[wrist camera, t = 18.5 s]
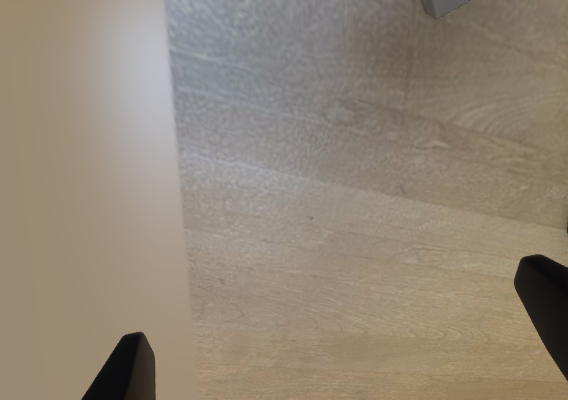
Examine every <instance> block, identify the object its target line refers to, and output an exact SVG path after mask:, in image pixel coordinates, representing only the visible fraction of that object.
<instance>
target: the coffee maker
mask: <svg viewBox="0 0 568 400" xmlns="http://www.w3.org/2000/svg"><path fill="white" fill-rule="evenodd" d="M469 1H470V0H422V2H423V5H424V8H425V12H426V14H428V15H430V16H432V17H434V18H436V19H439V18H441V17H443V16H444V15H446V14H448V13H450V12H451V11H453V10H455V9H457V8H458V7H460V6H462V5H464V4H465V3H467V2H469Z"/></svg>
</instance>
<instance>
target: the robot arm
mask: <svg viewBox="0 0 568 400" xmlns="http://www.w3.org/2000/svg"><path fill="white" fill-rule="evenodd" d="M514 286H515V289H516V291H517V293H518V295H519V297H520V299H521V301H522V303H523V305H524V307H525V309H526V311H527V313H528V315H529V317H530V319H531V320H532V322H533V324H534V326H535V328H536V330H537V332H538V334H539V336H540V338H541V340H542V342H543V343H544V345H545V347H546V349H547V350H548V352H549V353H550V355H551V357H552V358H553V360H554V361H555V363H556V364H557V366H558V367H559V369H560V370H561V372H562V373H563V375H564V376H565V378H566V380H567V381H568V268H567V267H565V266H563V265H561V264H559V263H557V262H555V261H553V260H551V259H549V258H547V257H545V256H543V255H540V254H535V255H530V256H525V257H523V258H522V259H521V260H520V263H519V266H518V269H517V272H516V275H515V278H514ZM155 399H156V394H155V357H154V353H153V351H152V348H151V347H150V344H149V343H148V341H147V339H146V336H145V335H144V333H142V332H136V333H131V334H126V335H124V336H123V337H122V338H121V340H120V341H119V343H118V344H117V346H116V347H115V349H114V350H113V352H112V354H111V355H110V357H109V358H108V360H107V361H106V363H105V364H104V366H103V367H102V369H101V371H100V372H99V373H98V375H97V377H96V378H95V380H94V381H93V383H92V384H91V386H90V387H89V389H88V390H87V392H86V393H85V395H84V397H83V398H82V400H155Z"/></svg>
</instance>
